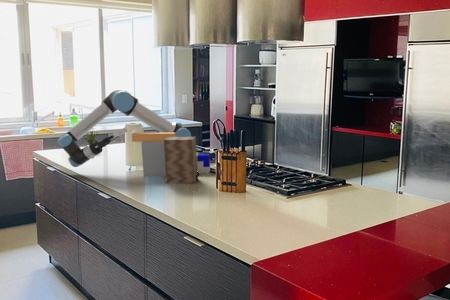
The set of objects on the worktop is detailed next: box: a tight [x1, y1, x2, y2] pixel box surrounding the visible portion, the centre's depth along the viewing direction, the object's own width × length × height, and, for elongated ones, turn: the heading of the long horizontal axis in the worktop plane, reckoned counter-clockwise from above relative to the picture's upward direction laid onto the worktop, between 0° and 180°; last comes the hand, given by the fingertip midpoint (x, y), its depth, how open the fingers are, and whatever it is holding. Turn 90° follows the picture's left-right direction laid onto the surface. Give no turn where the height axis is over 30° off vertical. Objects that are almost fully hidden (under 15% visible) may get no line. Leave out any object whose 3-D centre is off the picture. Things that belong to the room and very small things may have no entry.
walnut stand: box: [164, 136, 198, 184], centre depth 251 cm, size 15×9×23 cm, turn 82°
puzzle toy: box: [196, 151, 211, 174], centre depth 274 cm, size 10×10×10 cm
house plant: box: [81, 130, 102, 146], centre depth 339 cm, size 14×14×16 cm
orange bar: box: [131, 132, 176, 143], centre depth 266 cm, size 24×4×4 cm, turn 82°
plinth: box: [140, 142, 166, 177], centre depth 268 cm, size 16×9×19 cm, turn 82°
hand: (122, 130), depth 268 cm, fingers open, 13 cm apart
